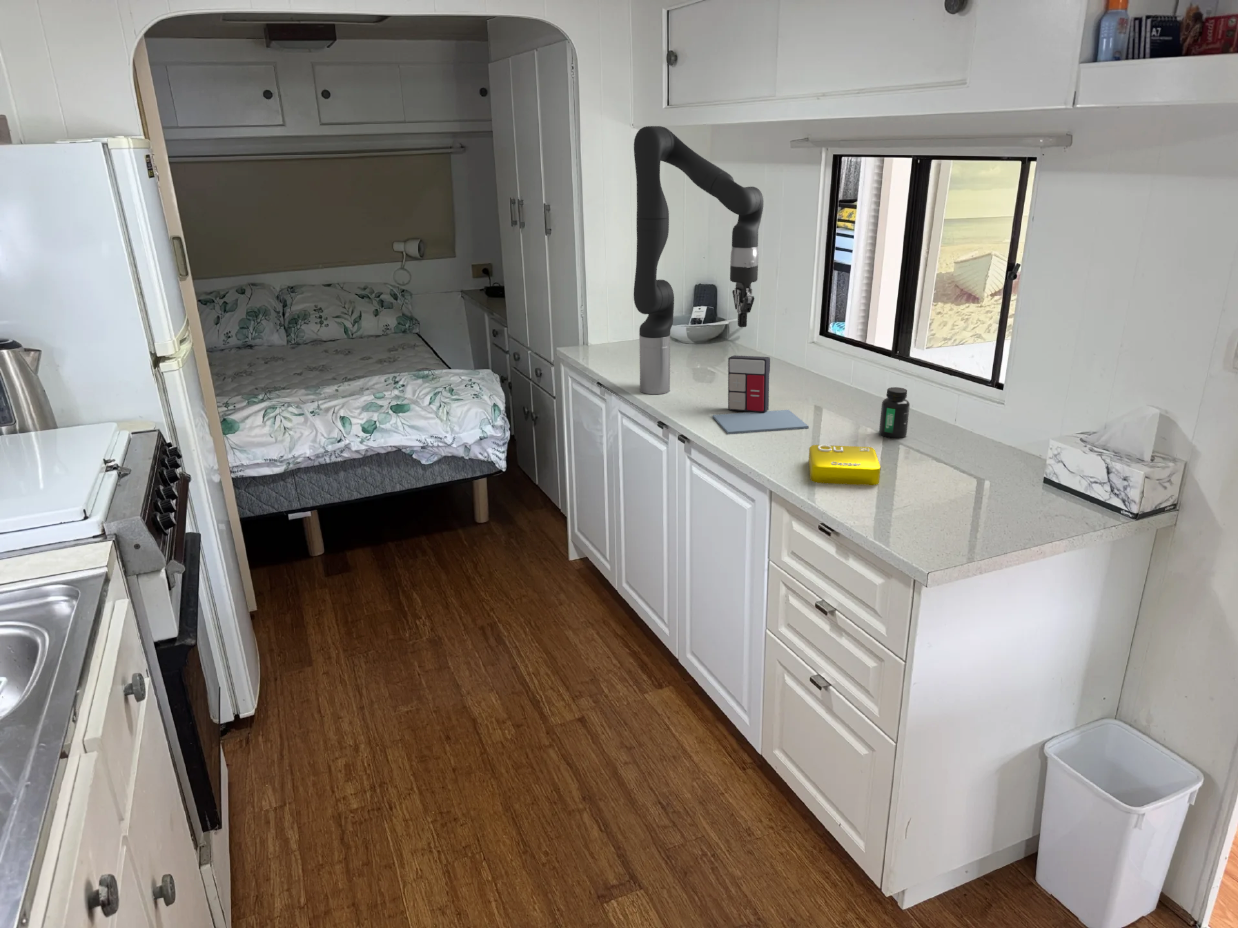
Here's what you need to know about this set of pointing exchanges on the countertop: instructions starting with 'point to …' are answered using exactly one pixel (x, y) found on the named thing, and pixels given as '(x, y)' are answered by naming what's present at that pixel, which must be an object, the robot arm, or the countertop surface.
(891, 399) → the supplement bottle
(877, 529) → the countertop surface
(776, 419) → the mat
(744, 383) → the dark grey boxy piece
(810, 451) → the element tile
